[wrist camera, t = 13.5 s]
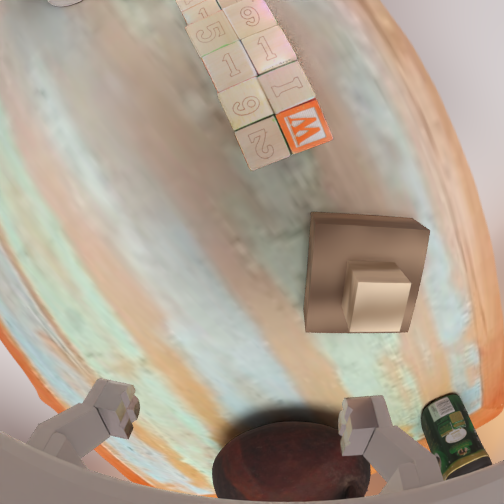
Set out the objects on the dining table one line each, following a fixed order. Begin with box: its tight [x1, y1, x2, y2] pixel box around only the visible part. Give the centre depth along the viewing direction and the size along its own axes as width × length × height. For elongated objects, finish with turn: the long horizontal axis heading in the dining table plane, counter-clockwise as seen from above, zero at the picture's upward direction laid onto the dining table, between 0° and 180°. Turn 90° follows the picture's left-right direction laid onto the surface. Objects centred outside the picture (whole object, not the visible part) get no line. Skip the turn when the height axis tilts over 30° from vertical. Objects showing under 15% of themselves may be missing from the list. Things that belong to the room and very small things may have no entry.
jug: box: [212, 421, 370, 502], centre depth 36 cm, size 25×25×25 cm
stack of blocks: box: [175, 0, 333, 171], centre depth 24 cm, size 21×6×12 cm, turn 23°
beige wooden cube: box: [341, 260, 411, 332], centre depth 29 cm, size 5×5×5 cm
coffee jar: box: [422, 395, 492, 481], centre depth 34 cm, size 10×8×19 cm
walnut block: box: [304, 212, 430, 333], centre depth 33 cm, size 12×12×5 cm
